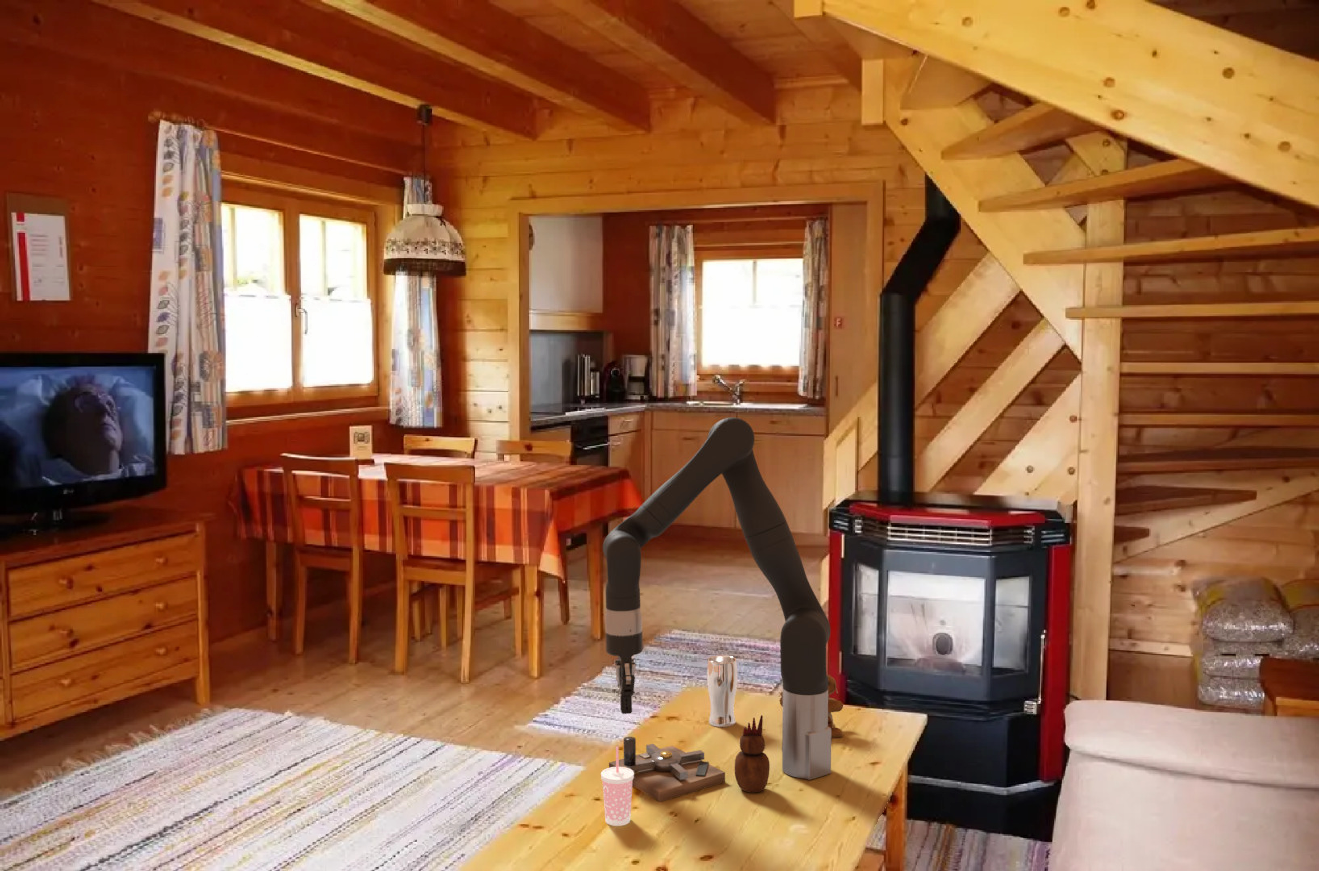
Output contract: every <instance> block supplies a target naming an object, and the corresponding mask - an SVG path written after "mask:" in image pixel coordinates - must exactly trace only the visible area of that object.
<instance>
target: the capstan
mask: <svg viewBox="0 0 1319 871" xmlns="http://www.w3.org/2000/svg"><path fill="white" fill-rule="evenodd" d="M636 740H637V739H636V737H634V736H626V737H624V738H623V759H624V765H625V766H627V768H629V769H631V770H633V772H637V771H642V770H648V769H655V770H658V771H665V772H667V771H670V772H671V773H673V774H674V775H675V776H676V777H677V778H679V779H680V780H682V779H687V771H686V770H685V769H684V768H683V767H681V763H687V762H692V761H698V760H702V761H703V760H705V752H704V751H703V750H701V749H700V750H694V751H688V752H686V753H681V754H678V753H676V752H672V751H662V750H660V749H661V748H659V747H658V746H657V745H656V744H654V743H650V744H649V743H648V744H646V745H645V749H646V752H648V753H649V754H650V755H651V759H647V760H642V761H636V755H637V754H636V752H637V746H636V743H637V741H636ZM646 752H645V753H646Z"/></svg>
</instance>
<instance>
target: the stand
mask: <svg viewBox="0 0 1319 871" xmlns="http://www.w3.org/2000/svg"><path fill="white" fill-rule="evenodd" d="M659 749H660V750H662V751H672V752H676V753H678V754H681V753H687V752H686V751H684V750H682V749H679V748H677V747H675V746H674V745H670V746H665V747H662V748H659ZM647 759H651V755H650V754H649V753H648V752H643V753H640V754H636V761H642V760H647ZM611 767H616V760H614V761H609V762H608V768H611ZM619 767H626V768H627V766H625V765H624V758H621V759H620V758H619ZM681 767H683V768H684V769H685V770H686V771H687V779H682V780H680V779H679V778H677V777H676V776H675V775H674V774H673V773H671V772H670V771H667V772H665V771H658V770H655V769H648V770H642V771H637V772H634V778H633V781H632V787H634V788H636V789H637V790H639V791H641V792H643V793H644V794H646V795H647V796H650V797H651V798H653V799H655V800H656V801H658V802H659V803H661V802H664V801H667V800H670V799H673V798H677V797H680V796H684V795H687V794H690V793H693V792H697V791H701V790H704V789H706V788H710V787H713V786H714V787H715V786H717V785H720V784H724V783H726V772H725V771H723V770H721V769H720V768H717V767H715V766H713V765H711V764H710V762H709V761H703V760H698V761H692V762H687V763H681Z"/></svg>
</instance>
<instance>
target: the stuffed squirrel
mask: <svg viewBox="0 0 1319 871" xmlns="http://www.w3.org/2000/svg"><path fill="white" fill-rule="evenodd" d="M827 676H828V727H829V728H831V739H833V738H835V739H837V738H839V737H840V738H842V737H843V735H844V732H843V729H841V728H838V727H833V726H834V719H833V718H834V717H833V714H832V713H838V712H841V711H842V710H843V709H844V703H843V702H842V701H841V700H837V699H835V698H832V697H830V695H832V694H833V693H834V692H836V694H839V692H838V689H837V680H836V679H835V678H834V677H833V676H831V674H828V673H827ZM779 696H780V698H779V700H778V701H779V704H780V706H781V707H782V708H783V691H781V692H779ZM840 738H839V739H840Z"/></svg>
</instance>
